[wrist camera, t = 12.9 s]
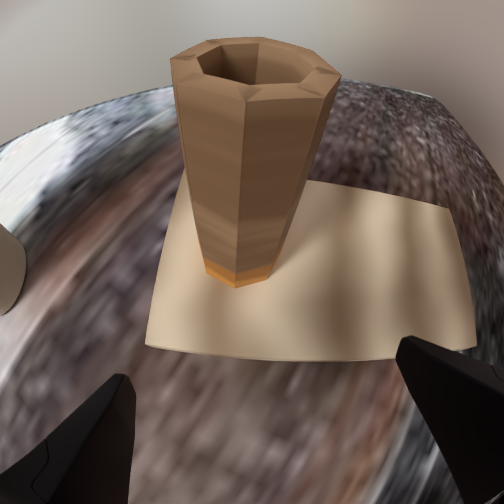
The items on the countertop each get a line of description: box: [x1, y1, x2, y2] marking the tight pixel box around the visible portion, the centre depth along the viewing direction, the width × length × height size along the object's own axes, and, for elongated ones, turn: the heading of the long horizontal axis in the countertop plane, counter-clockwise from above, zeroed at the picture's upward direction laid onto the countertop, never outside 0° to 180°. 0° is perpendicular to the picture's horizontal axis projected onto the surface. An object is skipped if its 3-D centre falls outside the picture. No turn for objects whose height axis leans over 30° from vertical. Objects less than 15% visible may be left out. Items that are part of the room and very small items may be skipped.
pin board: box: [145, 168, 477, 362], centre depth 18 cm, size 26×14×5 cm, turn 86°
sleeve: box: [170, 37, 342, 289], centre depth 13 cm, size 5×5×13 cm
